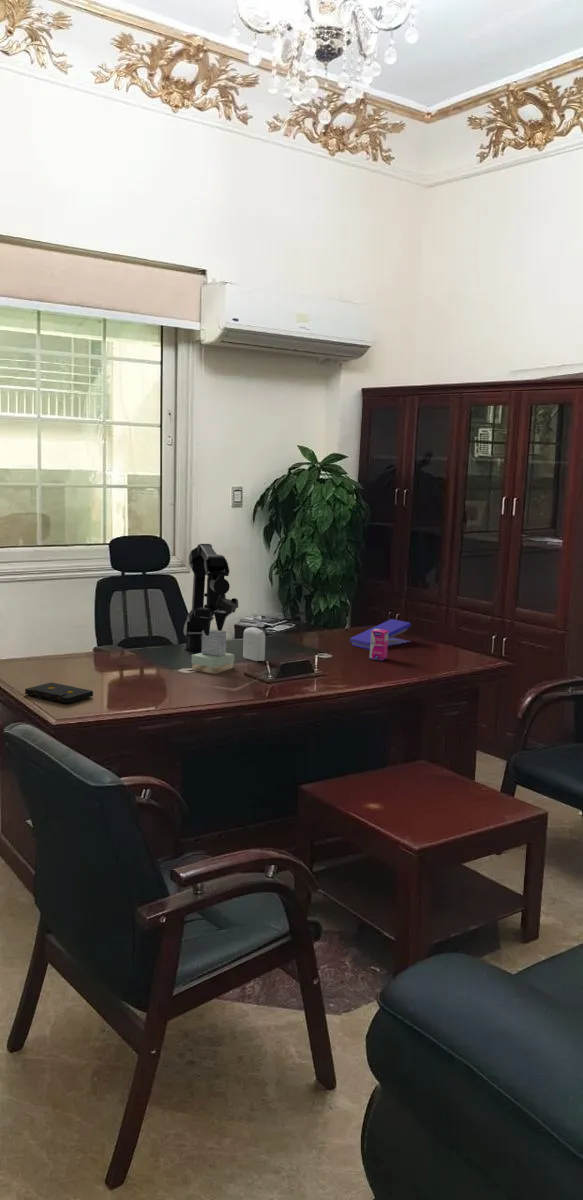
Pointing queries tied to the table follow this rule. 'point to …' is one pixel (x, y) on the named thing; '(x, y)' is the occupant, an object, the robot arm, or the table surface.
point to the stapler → (390, 625)
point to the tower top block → (212, 659)
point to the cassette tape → (58, 692)
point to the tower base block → (212, 668)
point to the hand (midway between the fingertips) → (213, 633)
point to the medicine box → (214, 643)
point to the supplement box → (379, 644)
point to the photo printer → (254, 644)
